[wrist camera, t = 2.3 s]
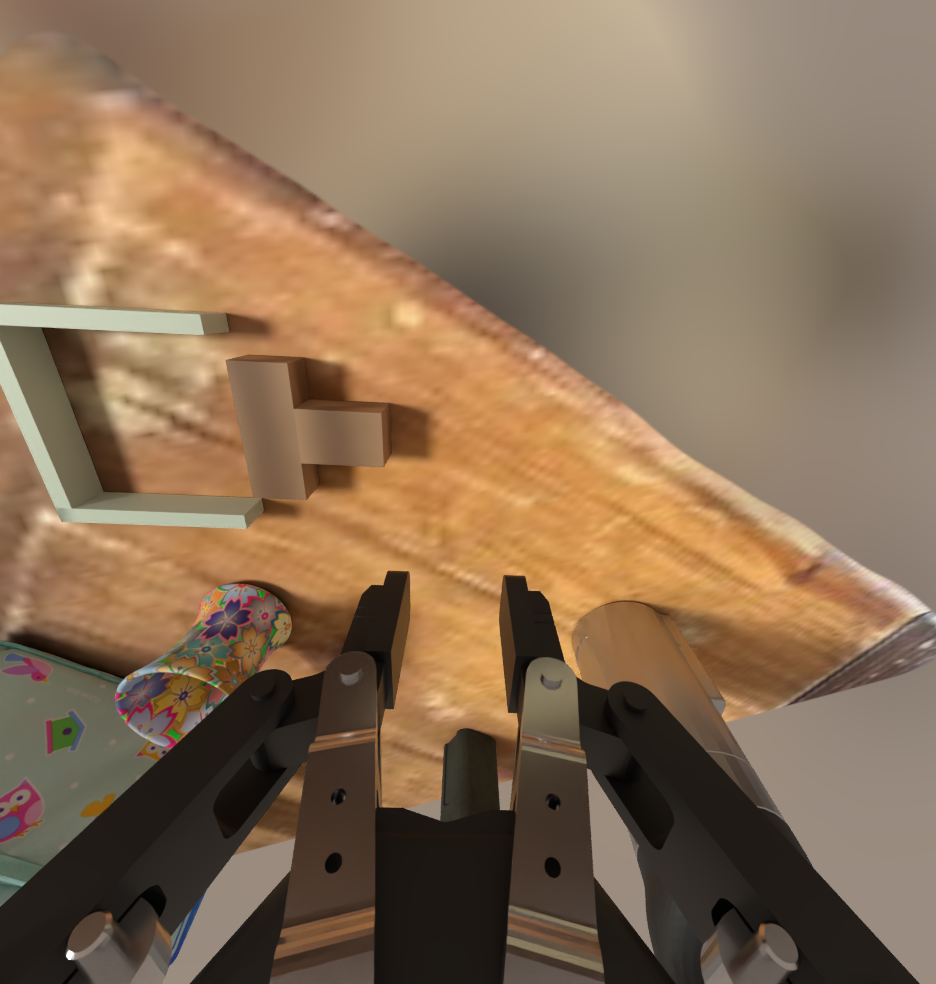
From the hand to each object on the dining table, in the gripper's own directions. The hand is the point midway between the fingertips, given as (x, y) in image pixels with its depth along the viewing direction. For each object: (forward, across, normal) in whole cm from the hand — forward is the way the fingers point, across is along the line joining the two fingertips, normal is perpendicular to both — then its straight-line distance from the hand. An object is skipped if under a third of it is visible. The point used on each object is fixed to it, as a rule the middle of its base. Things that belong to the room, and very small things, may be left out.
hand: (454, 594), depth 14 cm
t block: (+19, +10, 0) cm, 22 cm away
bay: (+19, +23, 0) cm, 30 cm away
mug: (+19, +20, +20) cm, 34 cm away
